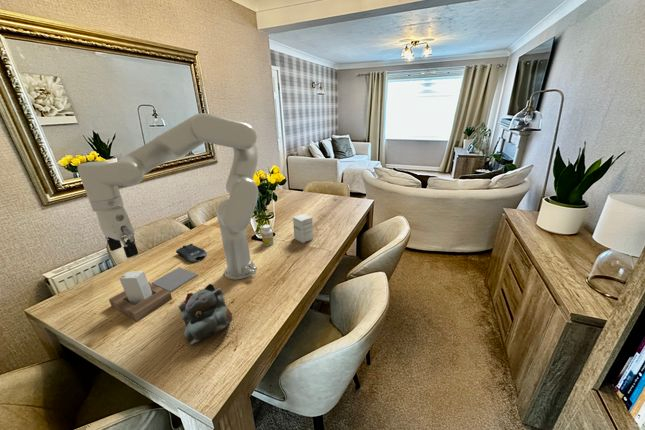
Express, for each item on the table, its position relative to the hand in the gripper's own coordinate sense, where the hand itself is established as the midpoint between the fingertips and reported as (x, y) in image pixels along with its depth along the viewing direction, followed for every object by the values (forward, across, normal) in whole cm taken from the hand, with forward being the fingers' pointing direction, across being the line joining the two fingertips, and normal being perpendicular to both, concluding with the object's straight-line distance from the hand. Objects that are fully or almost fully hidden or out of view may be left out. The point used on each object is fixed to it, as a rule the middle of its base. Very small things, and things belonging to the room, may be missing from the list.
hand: (124, 252), depth 83 cm
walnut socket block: (+21, 0, 0) cm, 21 cm away
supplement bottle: (+20, -13, -55) cm, 60 cm away
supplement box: (+20, -27, -67) cm, 75 cm away
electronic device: (+21, +12, -30) cm, 38 cm away
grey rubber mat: (+20, +2, -14) cm, 25 cm away
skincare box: (+21, 0, 0) cm, 21 cm away
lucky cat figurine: (+21, -31, -2) cm, 38 cm away
